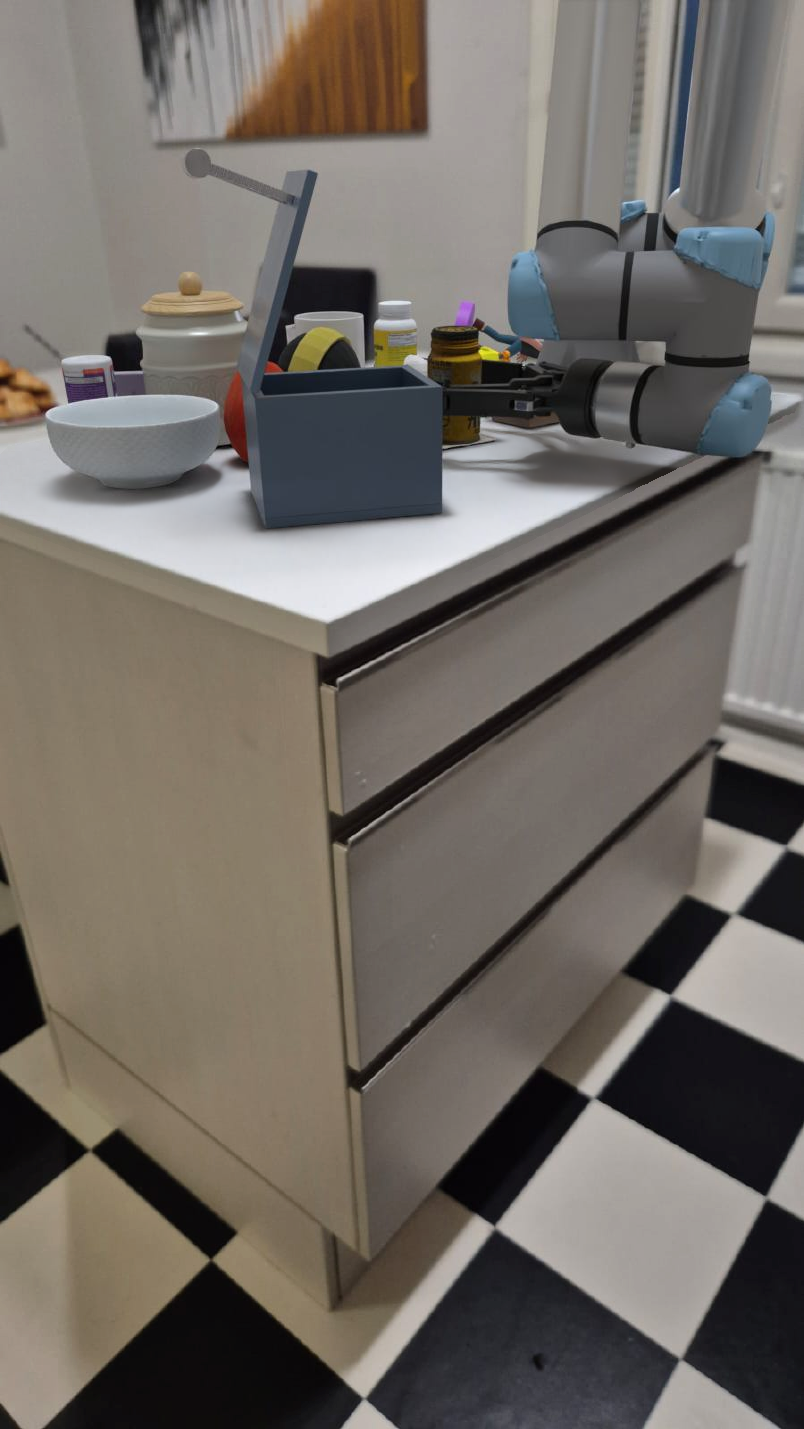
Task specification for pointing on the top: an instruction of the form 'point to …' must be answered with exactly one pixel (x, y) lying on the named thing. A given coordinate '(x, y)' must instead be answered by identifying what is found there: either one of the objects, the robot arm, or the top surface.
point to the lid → (276, 259)
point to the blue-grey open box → (344, 445)
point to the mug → (338, 321)
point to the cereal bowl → (135, 437)
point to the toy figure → (494, 354)
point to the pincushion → (417, 363)
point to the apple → (239, 413)
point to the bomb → (318, 352)
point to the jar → (192, 343)
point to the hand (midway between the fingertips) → (437, 379)
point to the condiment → (457, 378)
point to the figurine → (518, 344)
